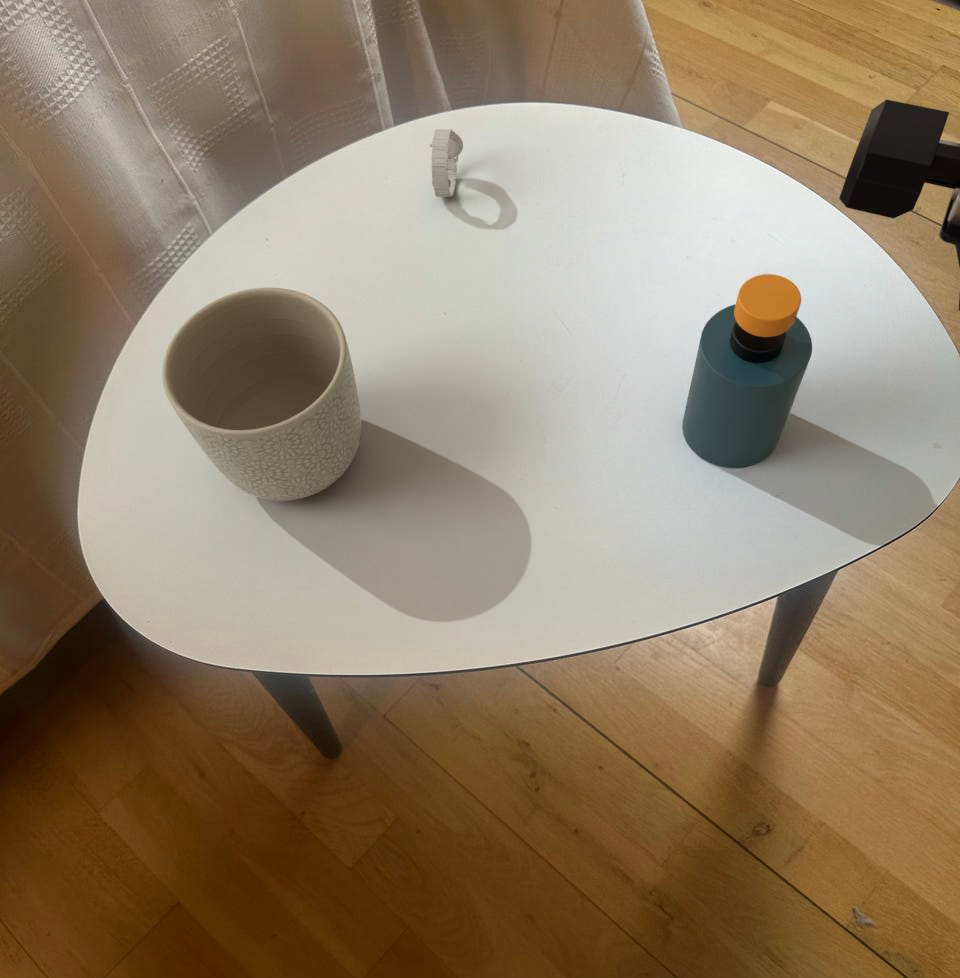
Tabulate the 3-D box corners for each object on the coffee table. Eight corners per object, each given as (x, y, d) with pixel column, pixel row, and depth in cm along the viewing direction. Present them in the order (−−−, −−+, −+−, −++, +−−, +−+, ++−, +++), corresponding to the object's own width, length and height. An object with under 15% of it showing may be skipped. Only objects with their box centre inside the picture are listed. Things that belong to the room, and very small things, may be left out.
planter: (206, 413, 71) (151, 312, 61) (357, 374, 72) (326, 267, 62) (229, 542, 66) (173, 455, 56) (391, 499, 67) (363, 405, 57)
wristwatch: (465, 169, 81) (460, 117, 76) (459, 209, 79) (453, 158, 74) (434, 168, 81) (427, 117, 76) (426, 208, 79) (419, 157, 74)
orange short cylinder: (804, 302, 57) (810, 284, 56) (783, 345, 56) (789, 327, 54) (746, 284, 58) (751, 266, 56) (724, 326, 57) (729, 308, 55)
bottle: (794, 408, 68) (832, 309, 58) (759, 481, 65) (794, 390, 56) (703, 377, 69) (727, 276, 60) (667, 447, 67) (685, 353, 58)
